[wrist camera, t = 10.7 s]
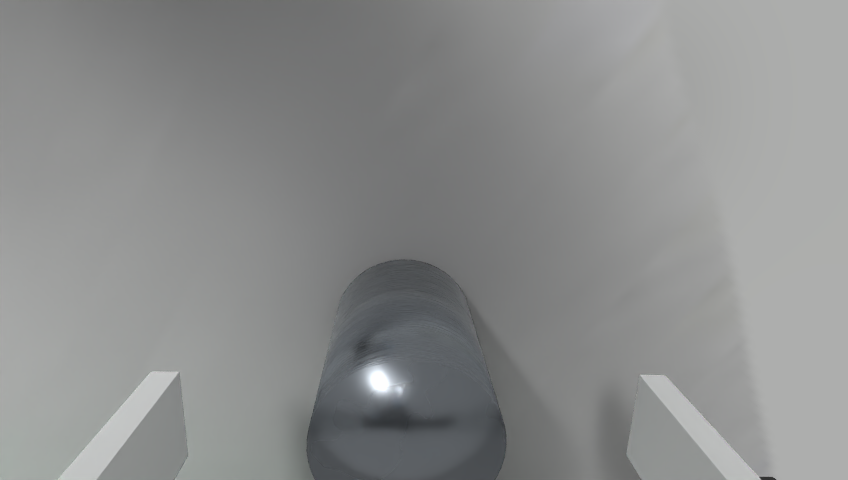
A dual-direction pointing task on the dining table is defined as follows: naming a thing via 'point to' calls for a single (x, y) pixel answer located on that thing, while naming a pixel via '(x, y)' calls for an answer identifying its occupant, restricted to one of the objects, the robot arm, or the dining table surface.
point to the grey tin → (405, 384)
